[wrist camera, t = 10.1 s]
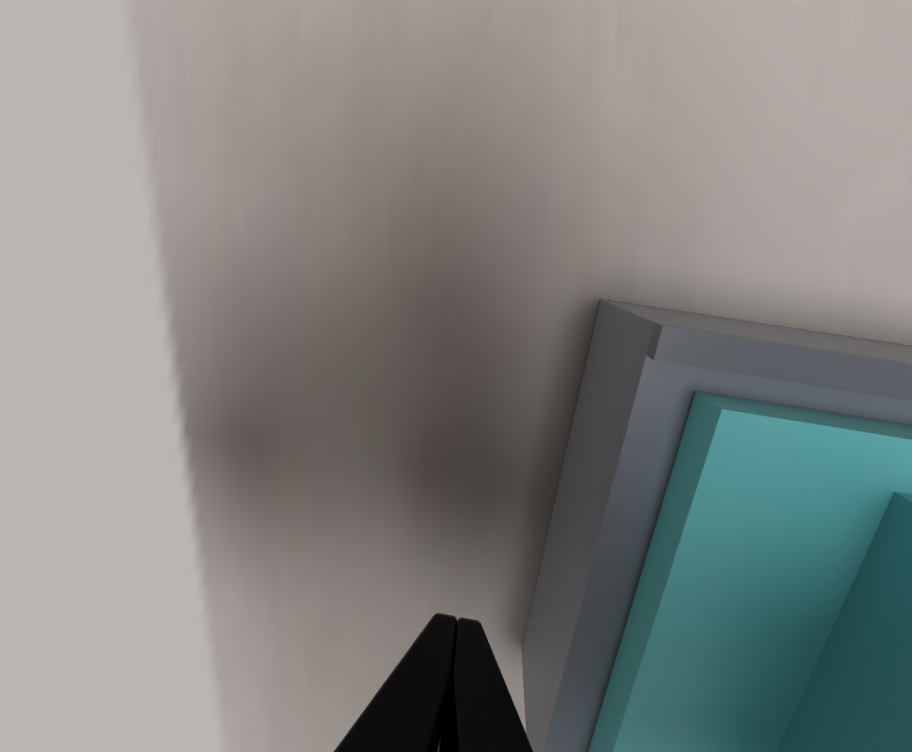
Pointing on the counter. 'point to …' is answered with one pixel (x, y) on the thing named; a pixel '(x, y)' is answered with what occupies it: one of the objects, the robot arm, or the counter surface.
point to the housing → (659, 474)
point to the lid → (772, 590)
